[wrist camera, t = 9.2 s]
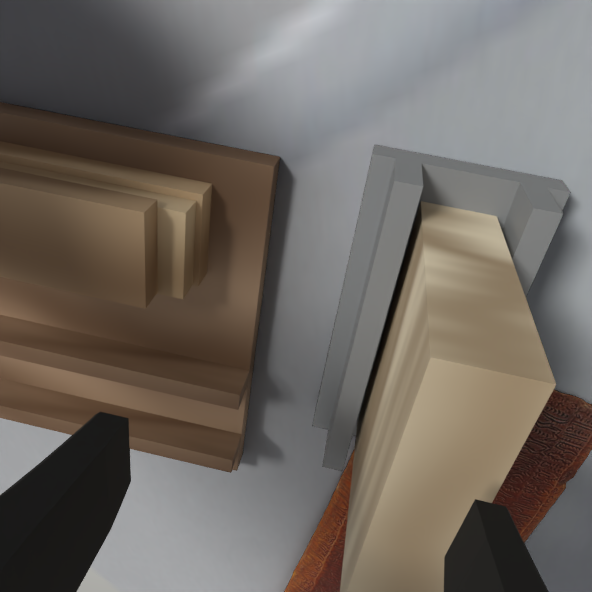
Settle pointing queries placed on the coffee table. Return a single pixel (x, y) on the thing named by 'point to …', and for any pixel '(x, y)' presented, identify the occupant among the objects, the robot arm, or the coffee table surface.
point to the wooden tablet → (513, 494)
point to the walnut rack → (156, 317)
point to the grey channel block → (391, 252)
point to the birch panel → (441, 402)
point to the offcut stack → (100, 226)
